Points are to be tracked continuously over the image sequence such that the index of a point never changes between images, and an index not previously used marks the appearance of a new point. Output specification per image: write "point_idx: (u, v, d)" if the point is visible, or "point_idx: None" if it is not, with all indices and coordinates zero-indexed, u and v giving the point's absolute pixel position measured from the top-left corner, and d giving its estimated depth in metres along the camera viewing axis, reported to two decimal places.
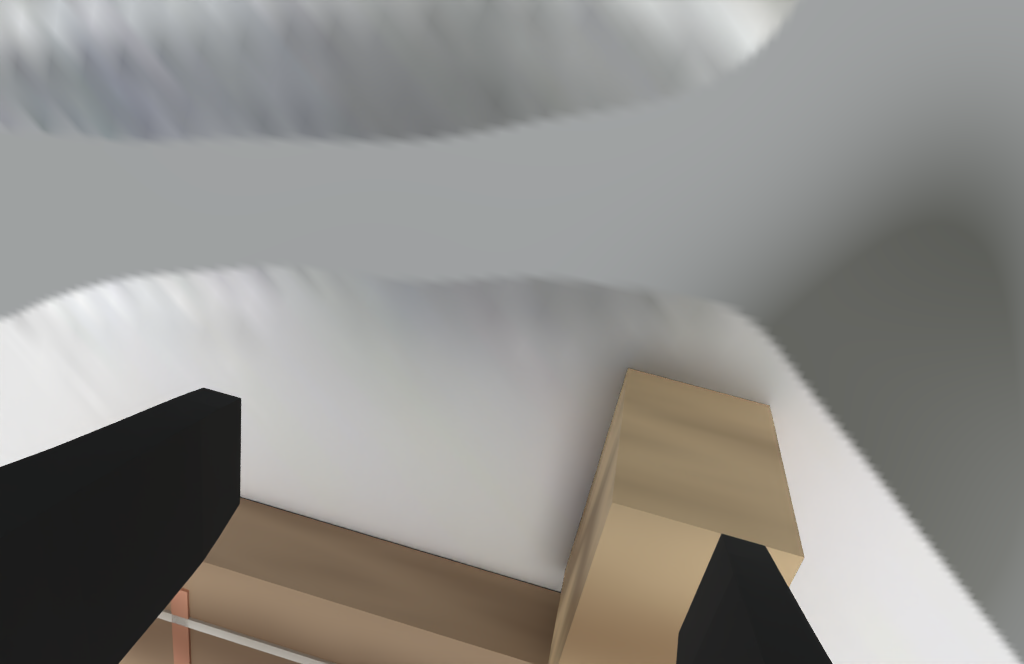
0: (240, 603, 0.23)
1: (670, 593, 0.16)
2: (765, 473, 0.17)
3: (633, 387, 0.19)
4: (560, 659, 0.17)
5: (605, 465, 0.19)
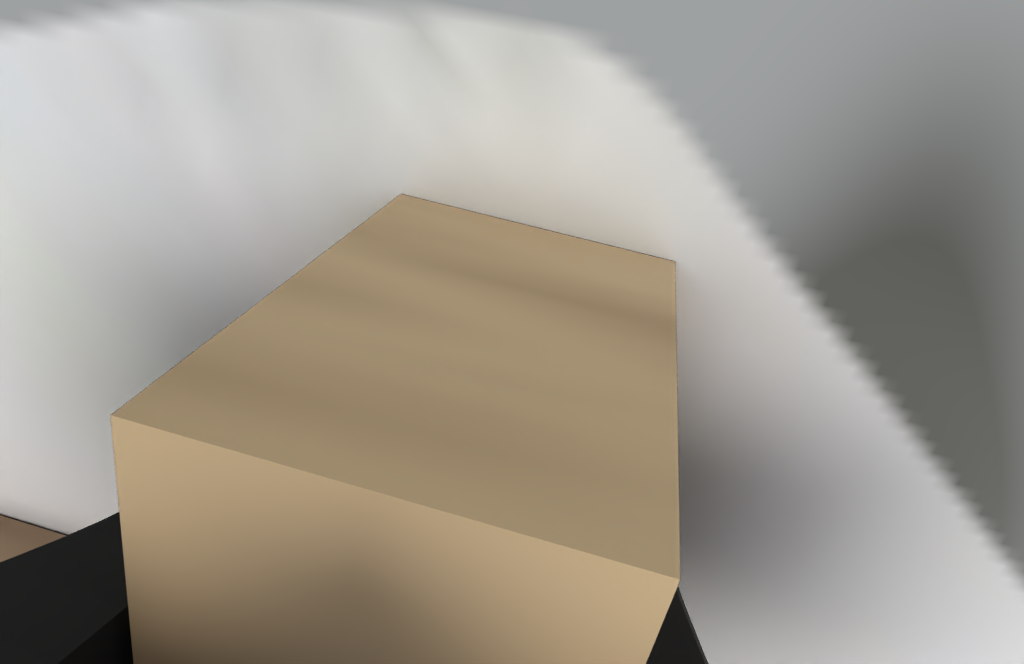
0: None
1: None
2: (626, 368, 0.07)
3: (388, 218, 0.09)
4: None
5: None
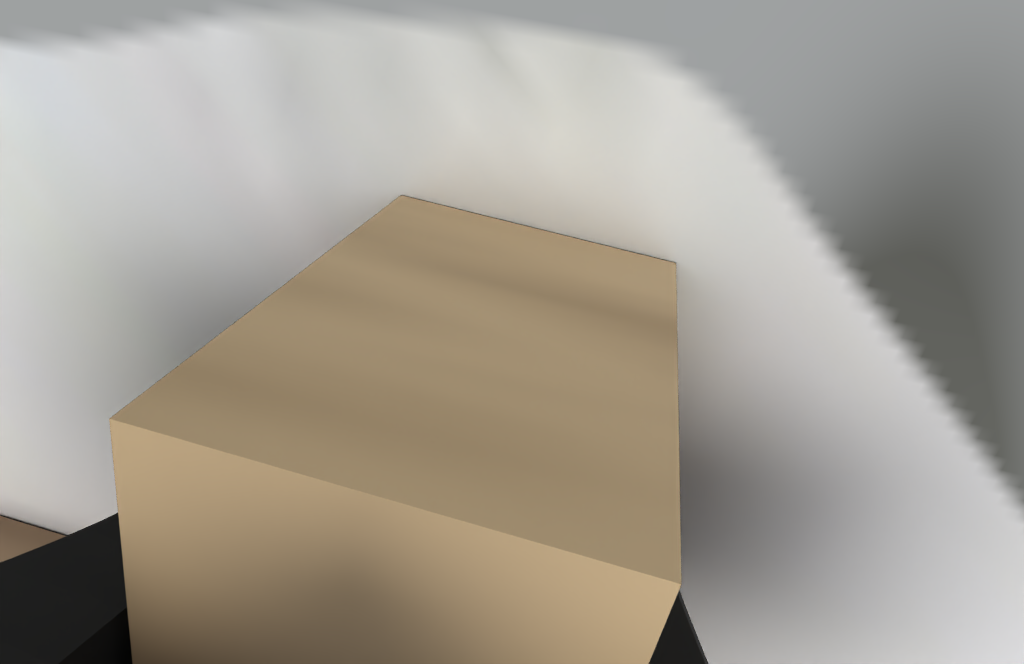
0: None
1: None
2: (627, 370, 0.07)
3: (388, 219, 0.09)
4: None
5: None
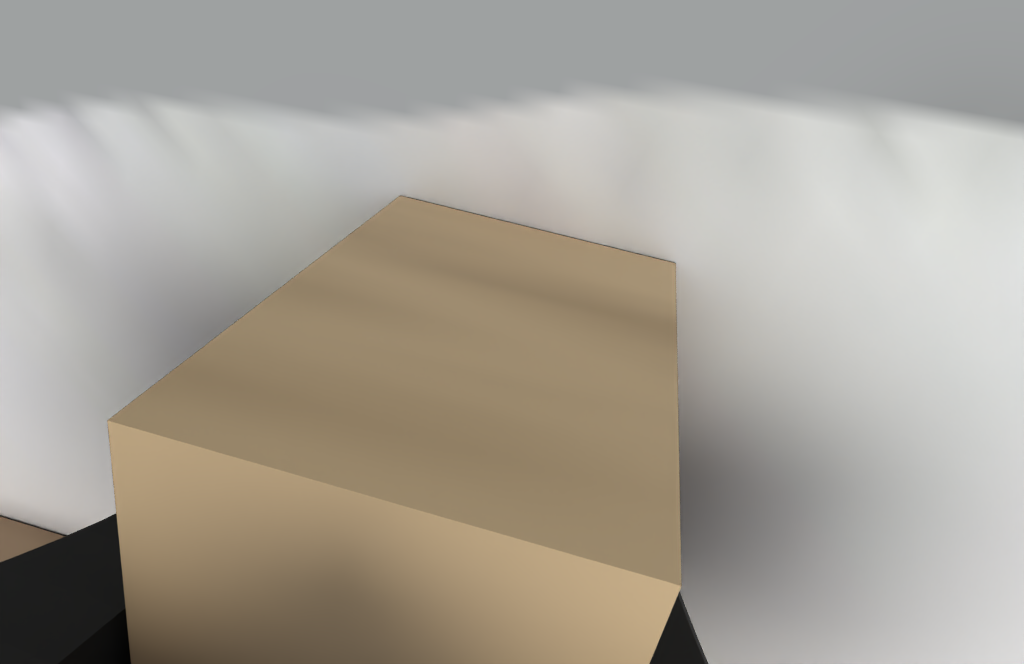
0: None
1: None
2: (627, 371, 0.07)
3: (387, 220, 0.09)
4: None
5: None
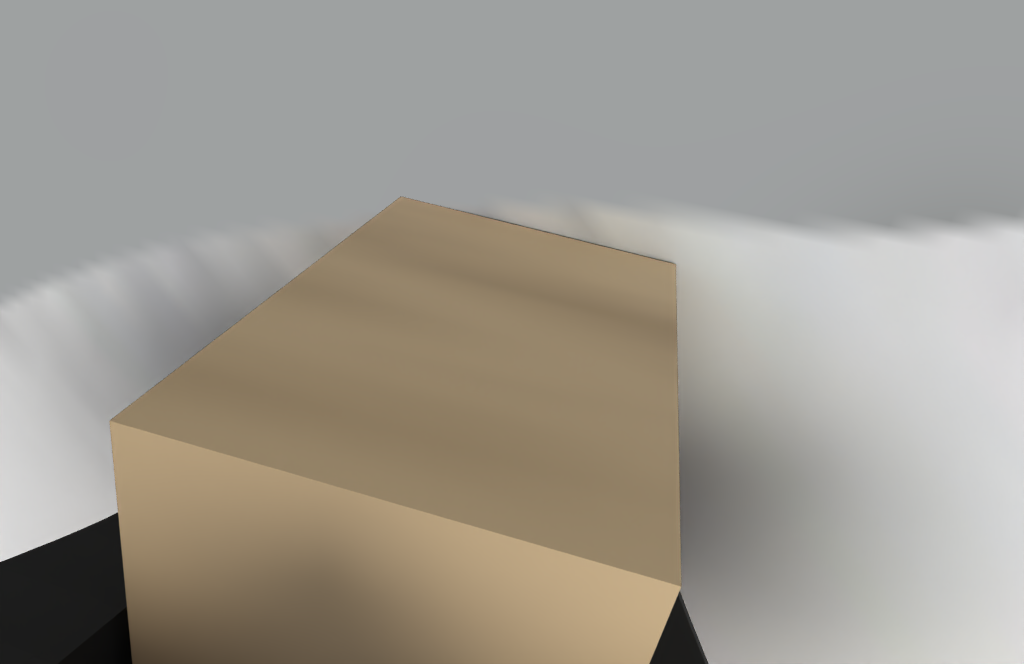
0: None
1: None
2: (627, 372, 0.07)
3: (388, 221, 0.09)
4: None
5: None
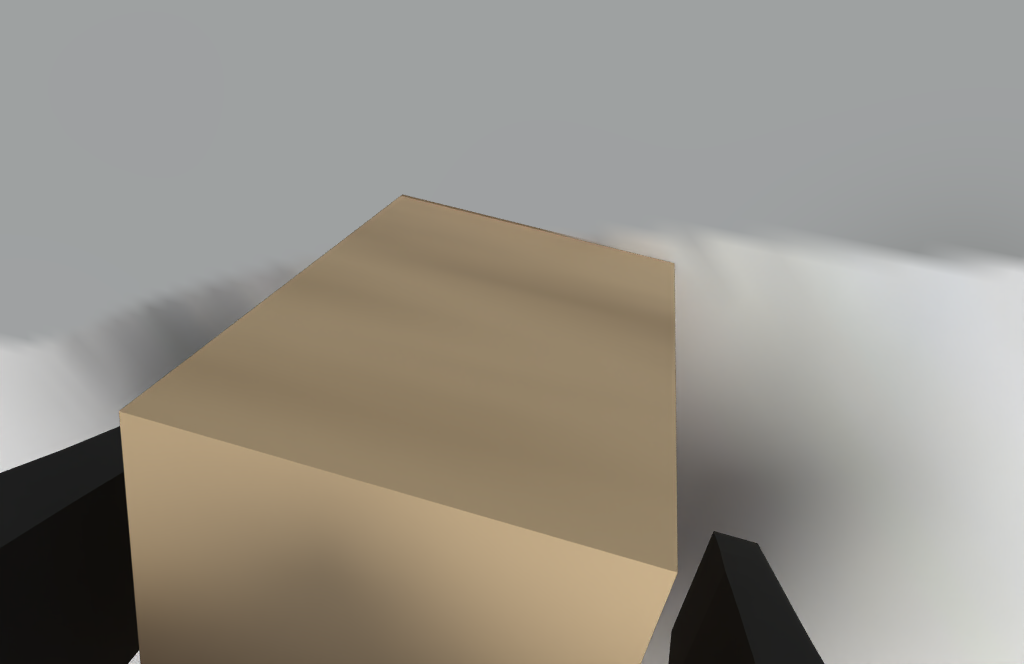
0: None
1: None
2: (626, 366, 0.07)
3: (390, 218, 0.09)
4: None
5: None
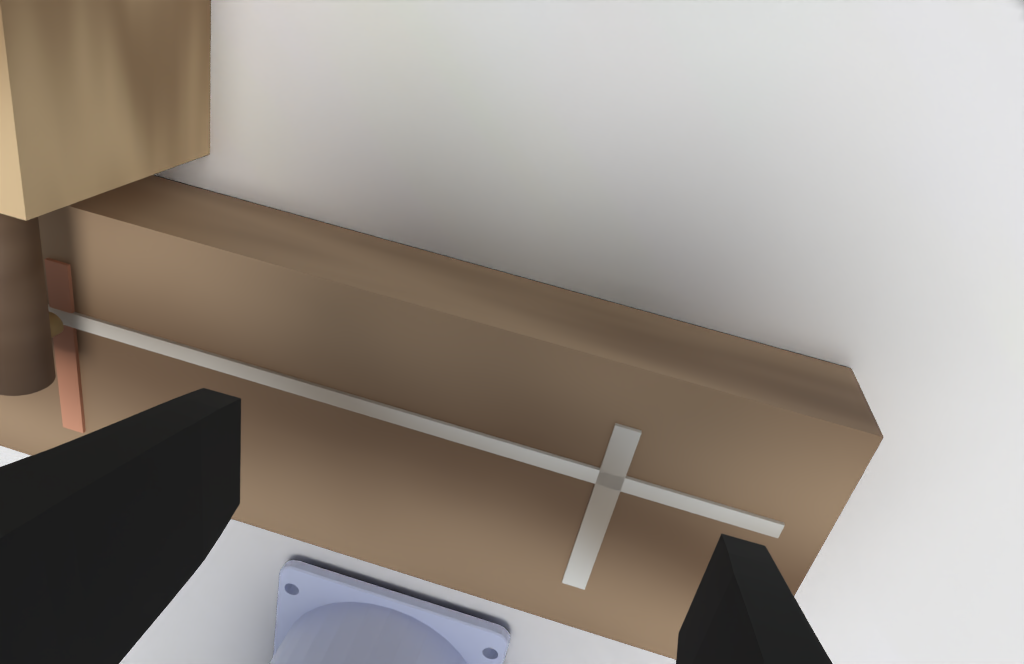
0: (140, 280, 0.17)
1: None
2: None
3: None
4: None
5: None
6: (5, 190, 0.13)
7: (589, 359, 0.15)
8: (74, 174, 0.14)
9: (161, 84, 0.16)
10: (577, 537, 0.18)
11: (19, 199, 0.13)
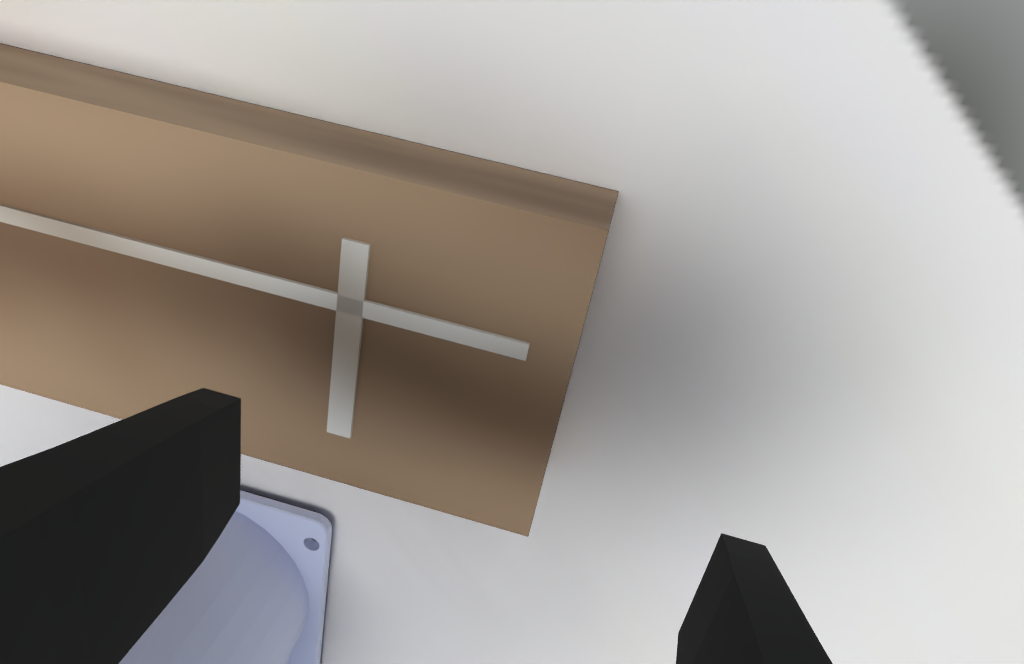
0: None
1: None
2: None
3: None
4: None
5: None
6: None
7: (303, 163, 0.14)
8: None
9: None
10: (332, 378, 0.17)
11: None
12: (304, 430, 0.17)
